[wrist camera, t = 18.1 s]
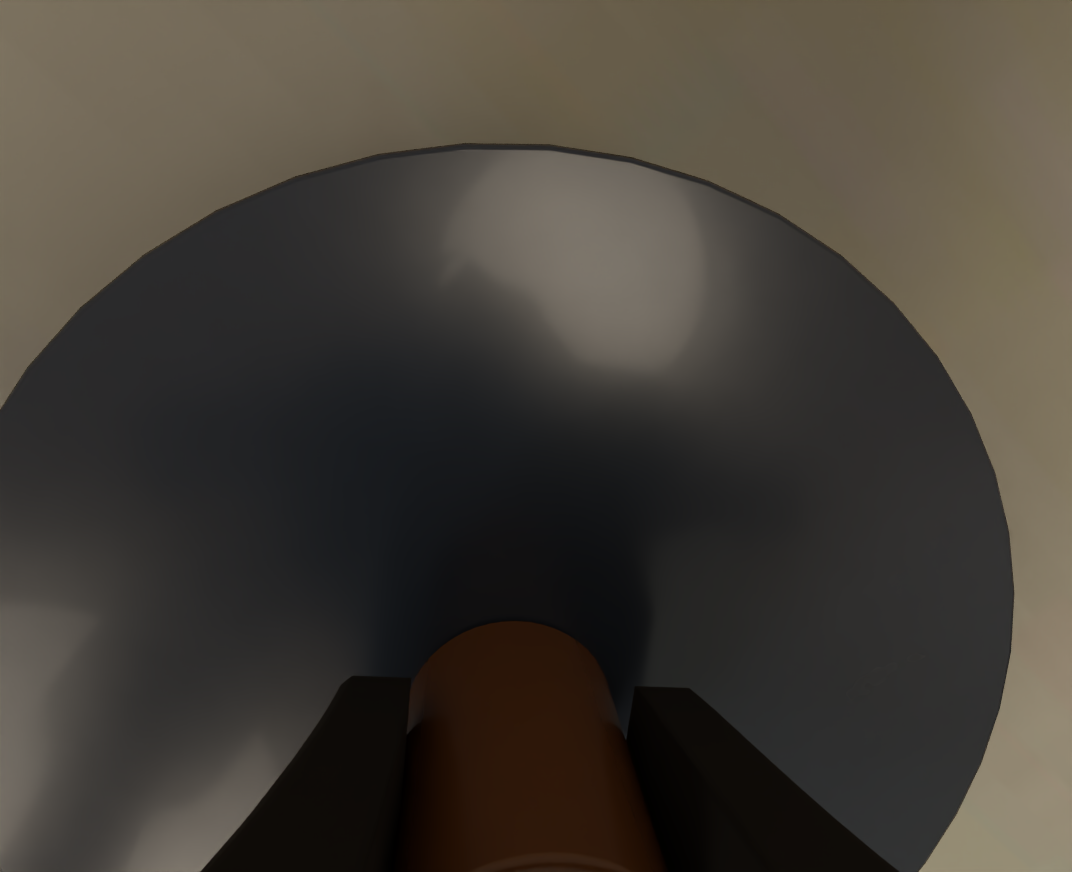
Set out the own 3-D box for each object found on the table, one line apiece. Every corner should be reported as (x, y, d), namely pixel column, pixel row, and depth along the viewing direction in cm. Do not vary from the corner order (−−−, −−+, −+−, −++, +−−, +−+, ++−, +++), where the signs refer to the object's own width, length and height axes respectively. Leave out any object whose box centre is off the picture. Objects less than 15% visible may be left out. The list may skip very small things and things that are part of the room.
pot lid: (179, 1104, 12) (21, 1622, 8) (-206, 276, 8) (-939, 359, 4) (973, 911, 13) (1253, 1292, 8) (944, 50, 9) (1425, -102, 4)
